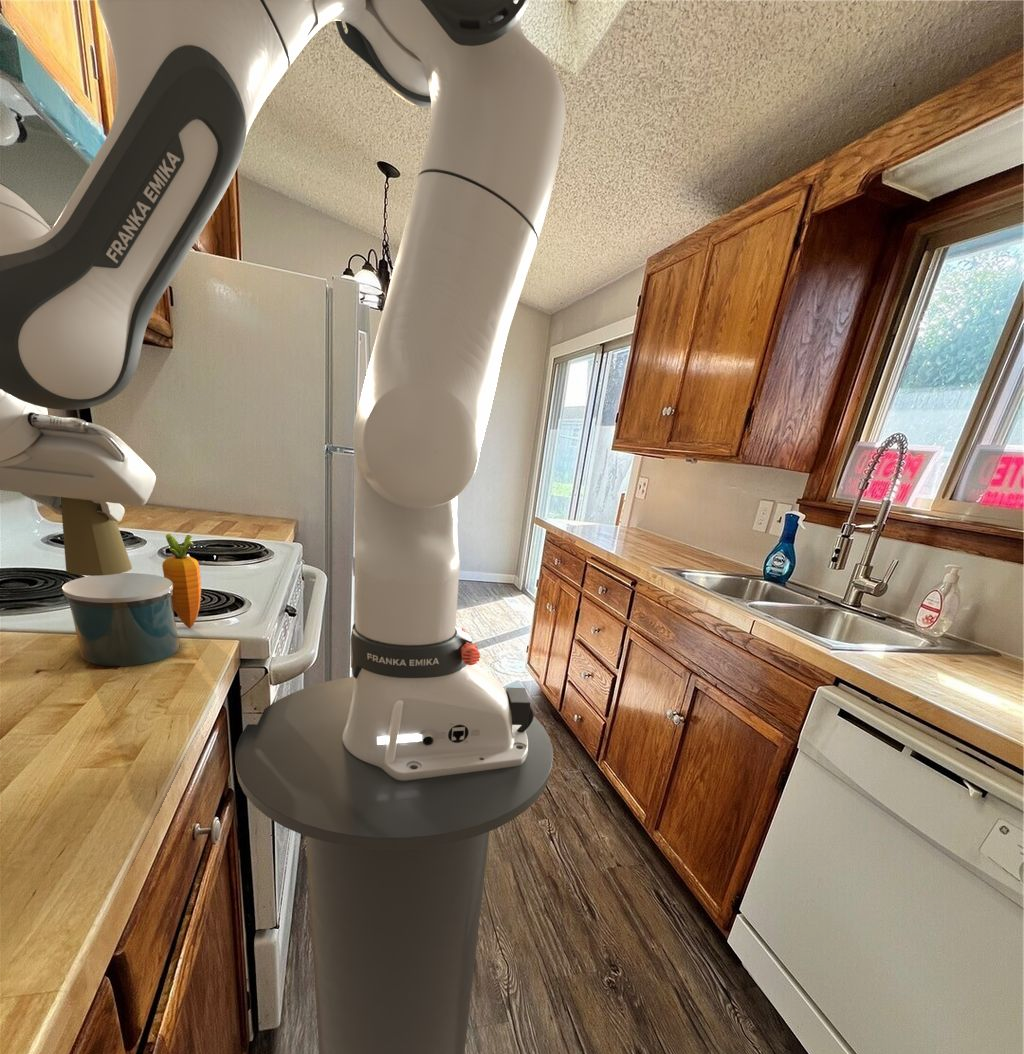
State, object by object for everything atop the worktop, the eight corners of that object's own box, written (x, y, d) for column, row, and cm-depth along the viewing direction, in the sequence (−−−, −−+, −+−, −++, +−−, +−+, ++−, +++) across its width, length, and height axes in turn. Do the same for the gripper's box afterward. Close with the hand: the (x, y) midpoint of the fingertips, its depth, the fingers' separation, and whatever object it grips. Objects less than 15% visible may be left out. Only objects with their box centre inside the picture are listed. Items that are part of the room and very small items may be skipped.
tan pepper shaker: (75, 561, 64) (52, 459, 59) (137, 562, 66) (119, 463, 61) (57, 575, 58) (30, 464, 54) (125, 575, 61) (104, 469, 56)
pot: (194, 636, 86) (185, 575, 82) (163, 668, 75) (152, 600, 71) (103, 633, 83) (90, 570, 79) (58, 666, 72) (40, 595, 68)
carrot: (203, 620, 92) (191, 529, 86) (210, 630, 89) (199, 535, 83) (168, 624, 89) (153, 530, 83) (175, 634, 86) (160, 536, 79)
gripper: (111, 395, 48) (194, 500, 61) (-114, 370, 49) (16, 479, 62) (83, 451, 46) (175, 548, 59) (-153, 425, 46) (-10, 526, 59)
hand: (92, 513), depth 60 cm, fingers closed on tan pepper shaker, 4 cm apart
